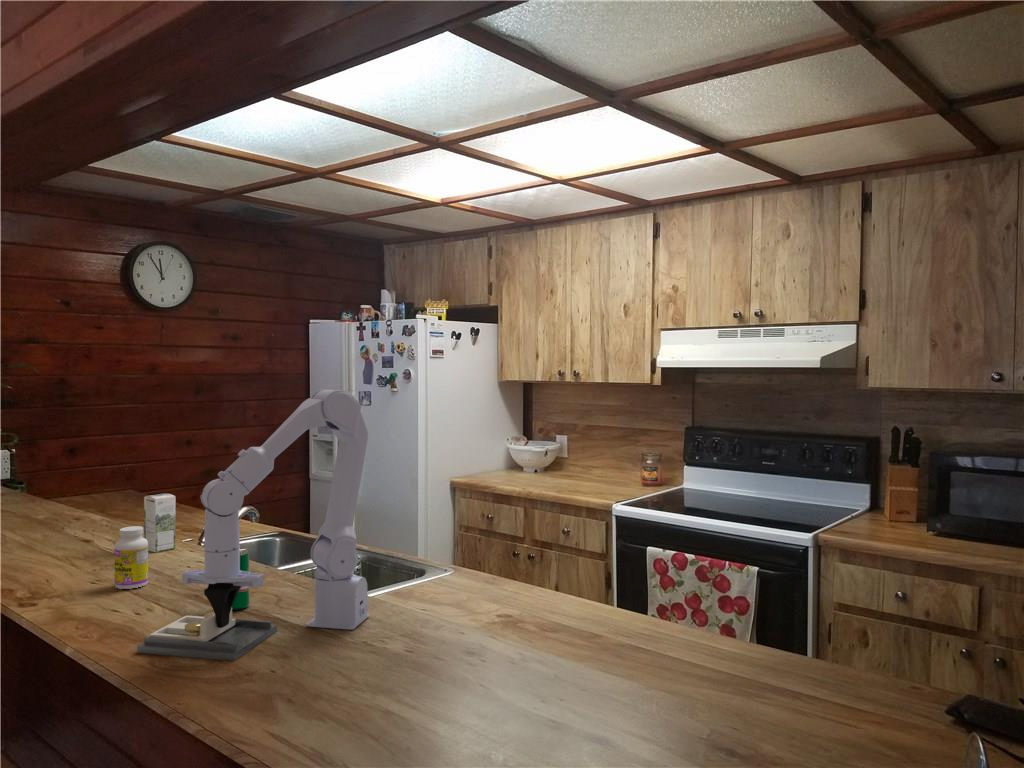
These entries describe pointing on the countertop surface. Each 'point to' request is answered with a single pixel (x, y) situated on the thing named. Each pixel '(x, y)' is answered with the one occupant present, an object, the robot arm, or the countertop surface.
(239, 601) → the soda can
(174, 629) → the panel
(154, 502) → the syrup box
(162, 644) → the boss plate
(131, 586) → the supplement bottle
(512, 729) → the countertop surface
